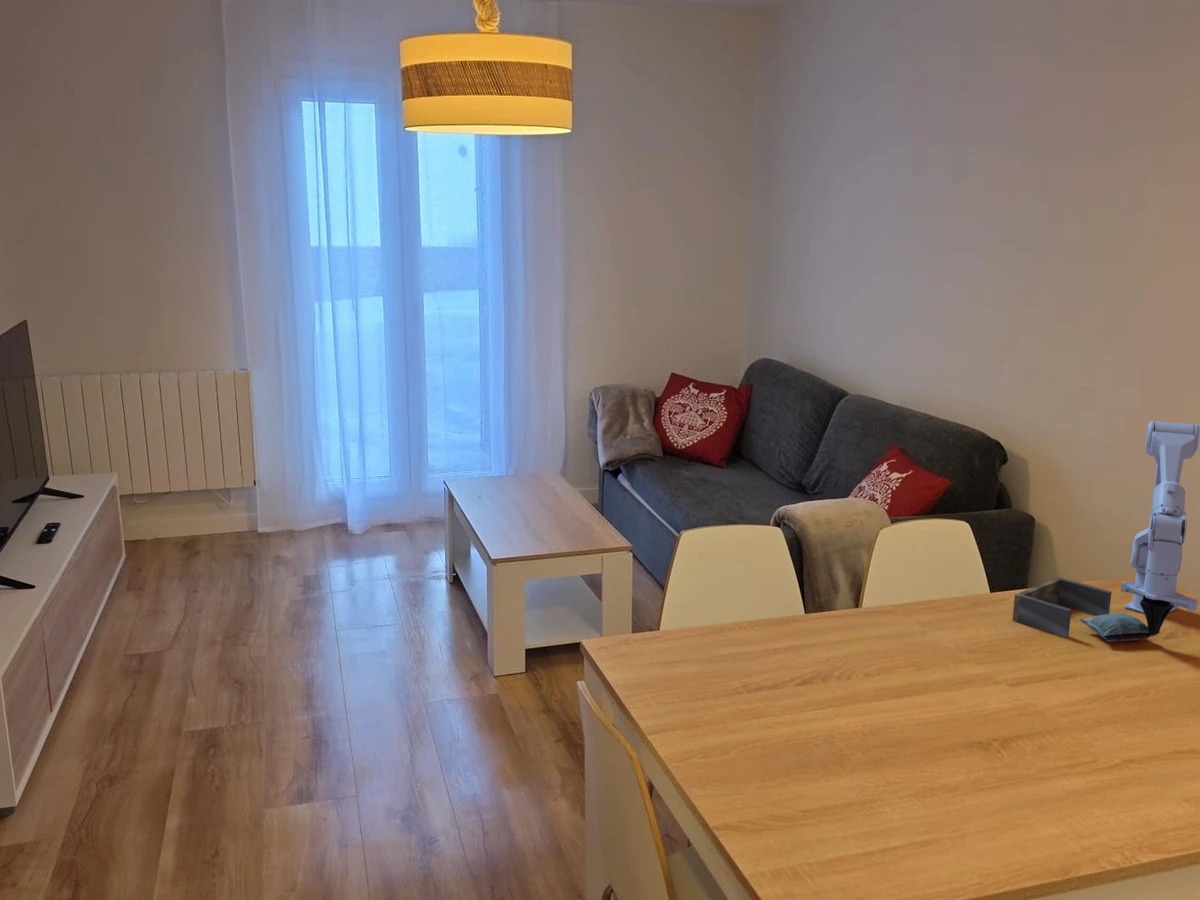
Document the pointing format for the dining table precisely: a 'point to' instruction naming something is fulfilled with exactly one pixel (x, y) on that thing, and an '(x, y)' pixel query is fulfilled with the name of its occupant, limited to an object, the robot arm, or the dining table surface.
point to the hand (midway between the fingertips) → (1153, 633)
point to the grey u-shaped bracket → (1043, 601)
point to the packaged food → (1118, 627)
